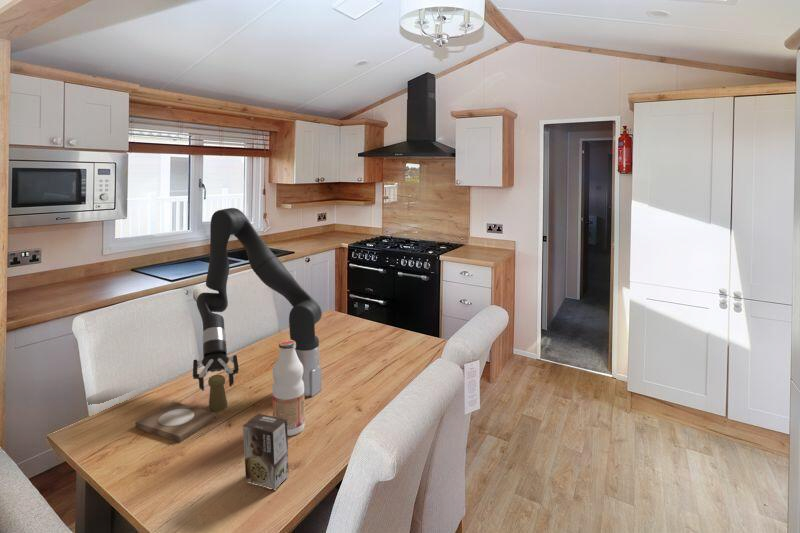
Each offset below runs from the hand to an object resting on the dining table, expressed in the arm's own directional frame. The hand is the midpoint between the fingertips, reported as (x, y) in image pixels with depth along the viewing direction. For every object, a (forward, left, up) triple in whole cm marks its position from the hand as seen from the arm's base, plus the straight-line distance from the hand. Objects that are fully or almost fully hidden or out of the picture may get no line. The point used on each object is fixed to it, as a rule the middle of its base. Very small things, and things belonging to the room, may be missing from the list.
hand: (216, 387), depth 148 cm
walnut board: (+4, +13, -7) cm, 15 cm away
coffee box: (-38, +23, -7) cm, 45 cm away
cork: (0, 0, -7) cm, 7 cm away
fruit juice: (-29, +1, -7) cm, 30 cm away
